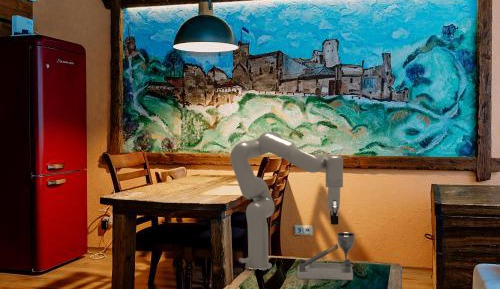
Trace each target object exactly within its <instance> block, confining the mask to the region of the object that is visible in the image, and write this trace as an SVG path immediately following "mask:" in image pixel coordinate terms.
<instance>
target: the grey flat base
mask: <svg viewBox="0 0 500 289" xmlns="http://www.w3.org/2000/svg"><path fill="white" fill-rule="evenodd" d="M305 261H306V259H299V263H298V265H297V279H299V280H300V279H302V280H333V281H334V280H335V281H336V280H338V281H339V280H342V281H354V270H353V267H350V264H351V259H349V258H347V259H345V258H344V260H343V261H344V262H343V263H344V264H345V267H341V264H342V263H338V262H313V263H311V264H309V265H307V266H305V264H302V263H303V262H305Z"/></svg>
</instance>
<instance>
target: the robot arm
mask: <svg viewBox="0 0 500 289" xmlns="http://www.w3.org/2000/svg"><path fill="white" fill-rule="evenodd" d="M268 153H270V154H272V155H275V156H277V157H279V158H281V159H283V160H286V161H287V162H288V163H289V164H291V165H293V166H295V167H296V168H298V169H301V170H304V171H306V172H309V173H311V174H314V173H318V172H322V171H325V187H326V188H327V209H328V211H330V212H329V216H330V217H329V218H330V225H332V226H335V225H339V210H340V204H341V188H343V187H344V158H343V156H342V155H337V154H335V155H326V154H321V153H319V154H318V153H317V154H311V153H308V152H306V151H304V150H302V149H300V148H298V147H297V145H296V143H295V142H294V141H290V140H288V139H286V138H284V137H282V136H281V135H280V133H278V132H275V131H268V132H267V131H266V132H263V133H262V134H260V135H259V137H257V138H254V139H253V140H244V141H240V142H239V143H237V144H236V145H235V146H234V147H233V148H232V149H231V152H230V157H229V159H230V165H231V167H232V170H233V173H234V174H235V177H236V181H237V184H238V187H239V189H240V192H241V194H242V196H243V198H244V199H247V200H253V201H252V202H250V203H249V204H248V205H247V207H246V210H245V216H246V222H247V243H248V244H247V245H248V246H247V247H248V250H247V251H248V254H247V255H248V256H247V257H246V258H244V257H239V258H238V262H239V263H240V264H245V265H244V268H245V269H247V270H249V269H248V268H249V267H250V268H253V269H259V270H262V271H267V269H268V270H271V269H272V268H273V265H272V263H271V262H269V227H268V221H267V218H270V217H271V216H273V214H274V213H275V207H276V206H275V203H274V202H275V201H274V200H273V197H272V194H271V192H270V191H271V190H269V189H270V188H269V187H268V184H267V182H266V181H265V180H264V179H263V178H262V177H259V176H255V173H254V170H253V168H252V166H251V164H250V162H249V160H251V159H255V158H256V159H257V158H258V157H260V156H263V155H266V154H268Z"/></svg>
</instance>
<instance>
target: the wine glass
mask: <svg viewBox="0 0 500 289" xmlns="http://www.w3.org/2000/svg"><path fill="white" fill-rule="evenodd" d="M336 235H337V245H338V248H339V249H341V250H342V252H343V254H344V260H345V259H348V253H349V252H350V250H351V249H352V248H353V247H354V243H355V233H353V232H347V231H346V232H343V231H342V232H338V233H336ZM341 267H345V264H344V262H343V263H341ZM350 267H352V268H353V267H354V264H352V263H350Z"/></svg>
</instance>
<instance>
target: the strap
mask: <svg viewBox="0 0 500 289" xmlns="http://www.w3.org/2000/svg"><path fill="white" fill-rule="evenodd" d="M338 249H339V244H338V243H336V244H334V245H332V246H330V247H329V248H326V249H325V250H323V251H322V252H321V251H320V252H319V253H317V254H316V255H314V256H312V257H310V258H308V259H305V262H303V263H302V264H305V266H309V264H311V263H315V262H316V261H318V260H320V259H322V258H324V257H325V256H327V255H329V254H331V253H333V252H335V251H337V250H338Z"/></svg>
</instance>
